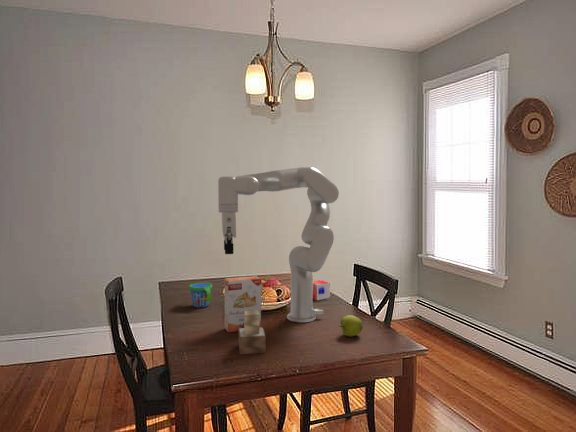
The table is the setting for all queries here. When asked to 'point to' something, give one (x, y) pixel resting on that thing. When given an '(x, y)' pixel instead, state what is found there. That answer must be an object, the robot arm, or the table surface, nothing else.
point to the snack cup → (201, 294)
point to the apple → (351, 325)
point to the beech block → (251, 322)
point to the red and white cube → (321, 290)
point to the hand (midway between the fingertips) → (228, 251)
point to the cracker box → (241, 300)
